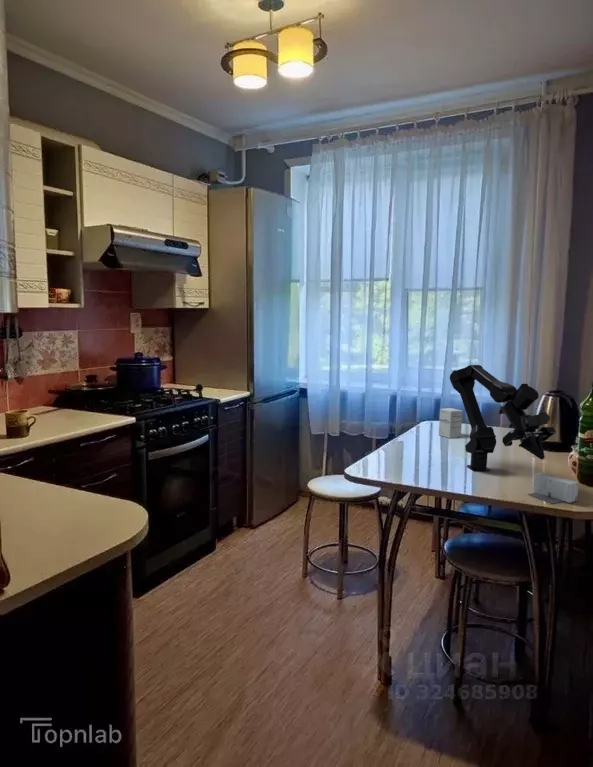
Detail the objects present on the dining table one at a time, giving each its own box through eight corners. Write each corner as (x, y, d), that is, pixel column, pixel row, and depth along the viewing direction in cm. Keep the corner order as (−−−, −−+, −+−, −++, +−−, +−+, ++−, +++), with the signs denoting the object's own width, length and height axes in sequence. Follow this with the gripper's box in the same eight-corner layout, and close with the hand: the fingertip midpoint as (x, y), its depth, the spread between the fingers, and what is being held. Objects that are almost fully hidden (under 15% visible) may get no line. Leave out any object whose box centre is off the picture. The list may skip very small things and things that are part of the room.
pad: (528, 494, 176) (528, 493, 176) (546, 491, 180) (547, 490, 180) (552, 503, 168) (552, 502, 168) (571, 500, 172) (571, 499, 172)
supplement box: (438, 435, 259) (439, 408, 257) (450, 434, 262) (451, 407, 261) (449, 438, 253) (450, 411, 251) (461, 437, 256) (463, 410, 254)
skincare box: (533, 474, 177) (570, 483, 167) (542, 472, 179) (579, 481, 169) (532, 493, 178) (569, 503, 168) (541, 490, 180) (577, 500, 170)
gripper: (512, 405, 174) (538, 448, 166) (553, 401, 182) (580, 442, 174) (491, 425, 182) (515, 466, 174) (532, 421, 190) (557, 460, 182)
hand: (543, 458), depth 176 cm, fingers closed
